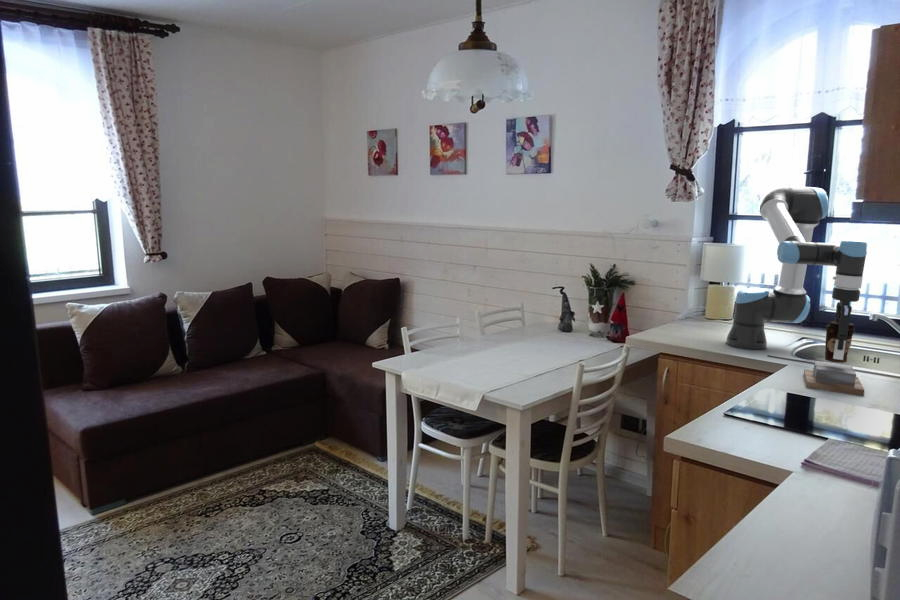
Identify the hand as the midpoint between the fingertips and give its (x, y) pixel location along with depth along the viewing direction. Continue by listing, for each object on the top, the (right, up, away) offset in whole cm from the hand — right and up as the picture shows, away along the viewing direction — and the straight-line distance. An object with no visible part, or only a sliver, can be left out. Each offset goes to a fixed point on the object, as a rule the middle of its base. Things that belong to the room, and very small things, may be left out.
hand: (836, 356), depth 214 cm
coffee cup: (0, -2, 0) cm, 2 cm away
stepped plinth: (0, -10, +2) cm, 10 cm away
